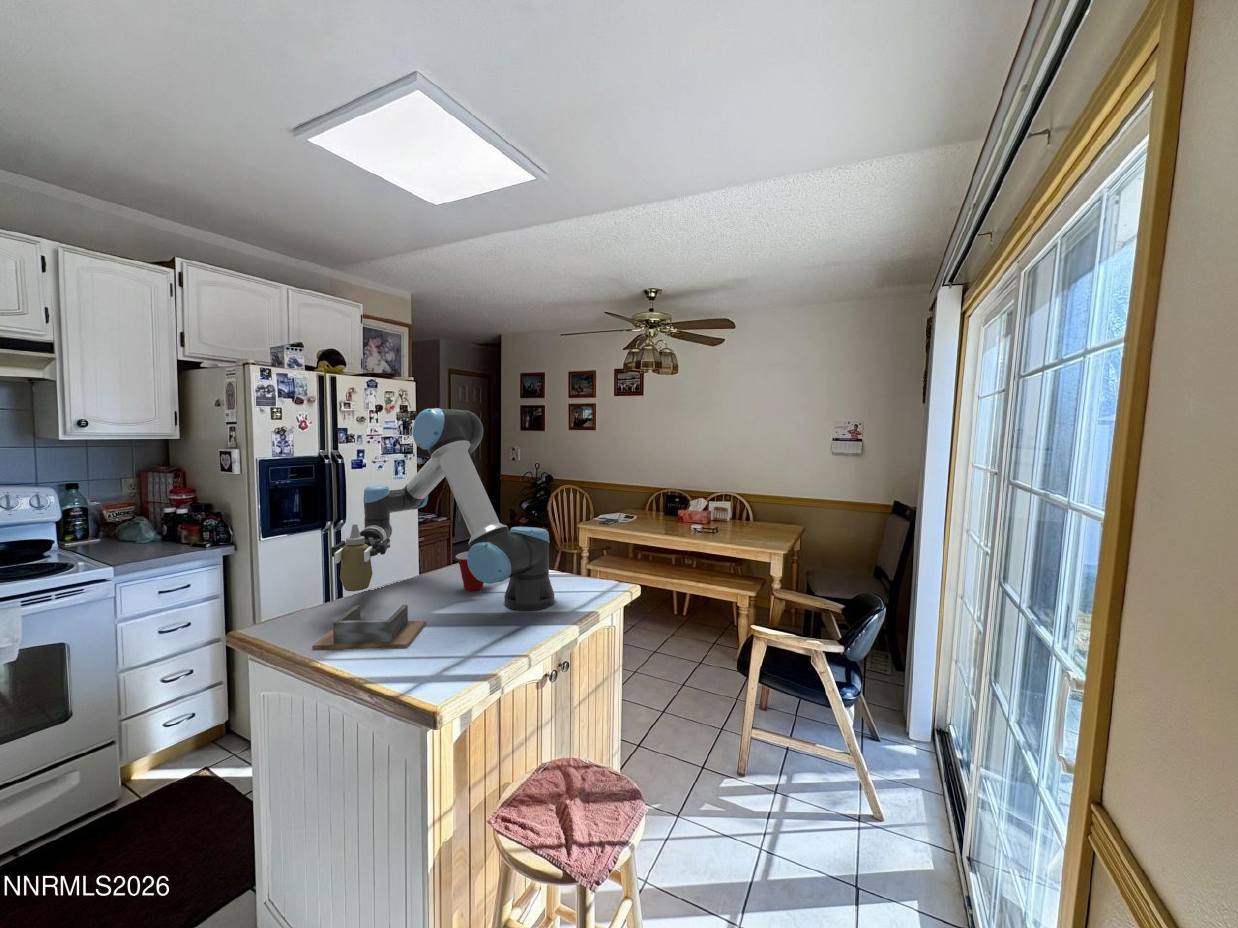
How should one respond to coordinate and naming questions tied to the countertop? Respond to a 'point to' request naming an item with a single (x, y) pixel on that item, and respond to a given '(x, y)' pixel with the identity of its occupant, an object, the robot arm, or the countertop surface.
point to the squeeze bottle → (355, 563)
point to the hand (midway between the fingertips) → (350, 557)
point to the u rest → (371, 631)
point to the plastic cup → (468, 574)
